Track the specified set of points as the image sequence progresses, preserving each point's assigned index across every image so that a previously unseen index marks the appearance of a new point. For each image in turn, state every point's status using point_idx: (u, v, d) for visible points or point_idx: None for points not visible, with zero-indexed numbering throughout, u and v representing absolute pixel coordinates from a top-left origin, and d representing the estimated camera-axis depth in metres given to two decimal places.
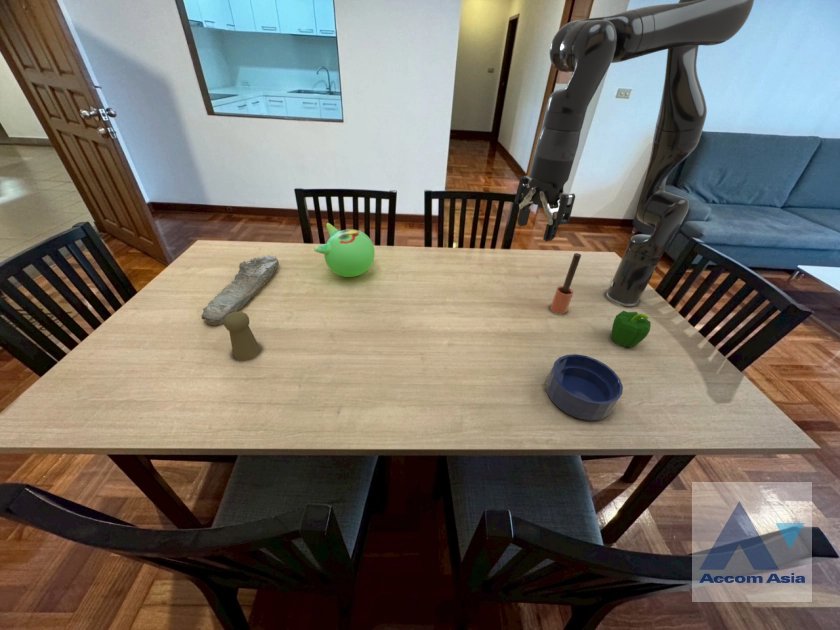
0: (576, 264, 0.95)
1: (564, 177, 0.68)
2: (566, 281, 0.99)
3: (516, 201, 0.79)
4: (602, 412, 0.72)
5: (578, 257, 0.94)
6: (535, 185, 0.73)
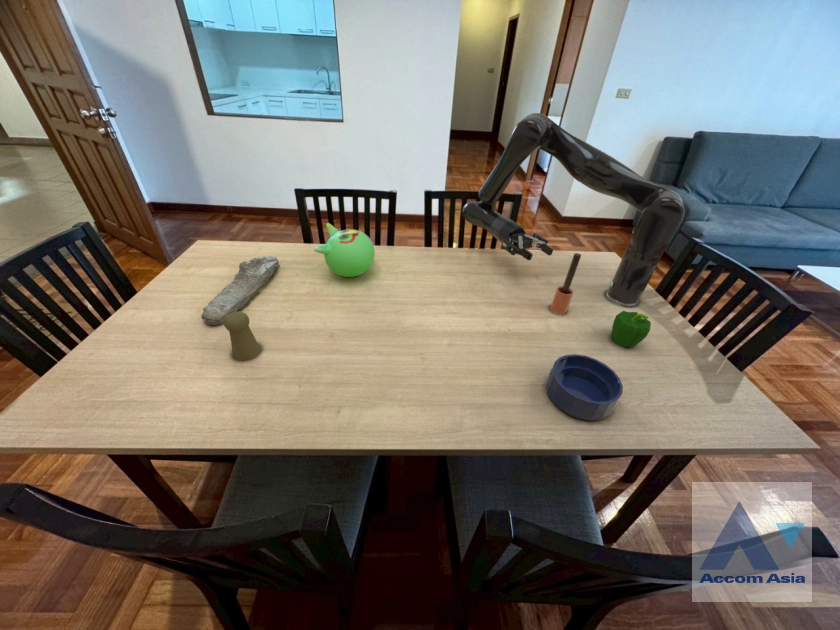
0: (576, 264, 0.95)
1: (505, 236, 1.12)
2: (566, 281, 0.99)
3: None
4: (602, 412, 0.72)
5: (578, 257, 0.94)
6: None
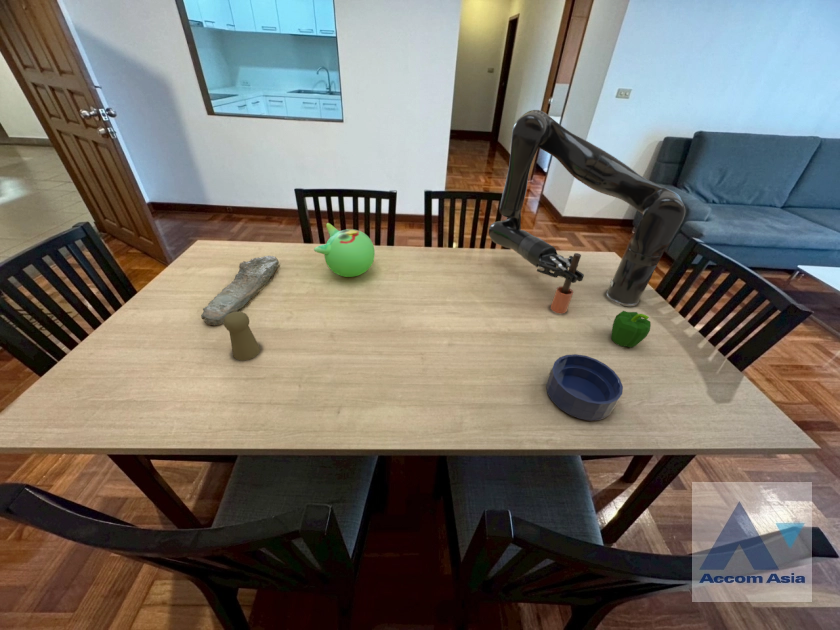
0: (576, 264, 0.95)
1: (534, 257, 1.04)
2: (566, 281, 0.99)
3: None
4: (602, 412, 0.72)
5: (578, 257, 0.94)
6: None
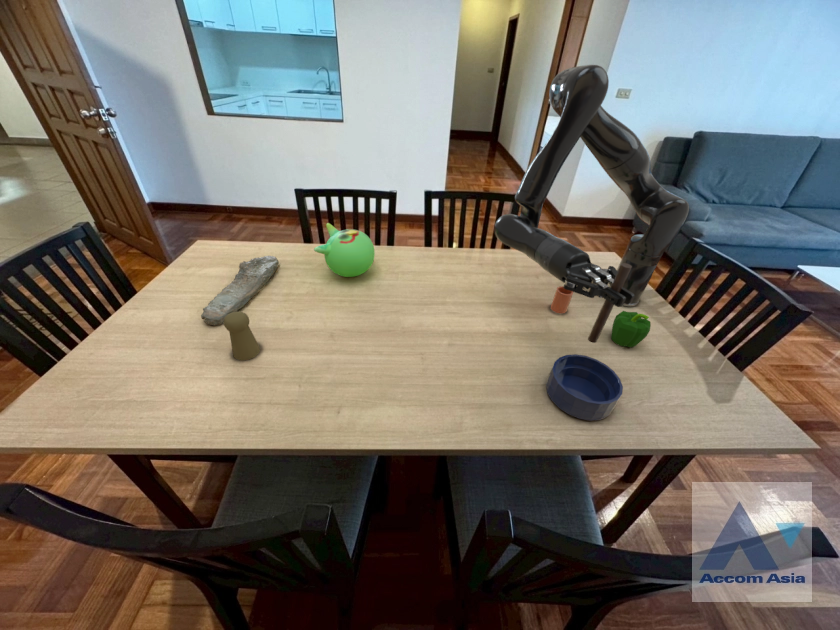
0: (624, 279, 0.65)
1: (559, 267, 0.74)
2: (606, 303, 0.69)
3: None
4: (602, 412, 0.72)
5: (627, 269, 0.64)
6: None
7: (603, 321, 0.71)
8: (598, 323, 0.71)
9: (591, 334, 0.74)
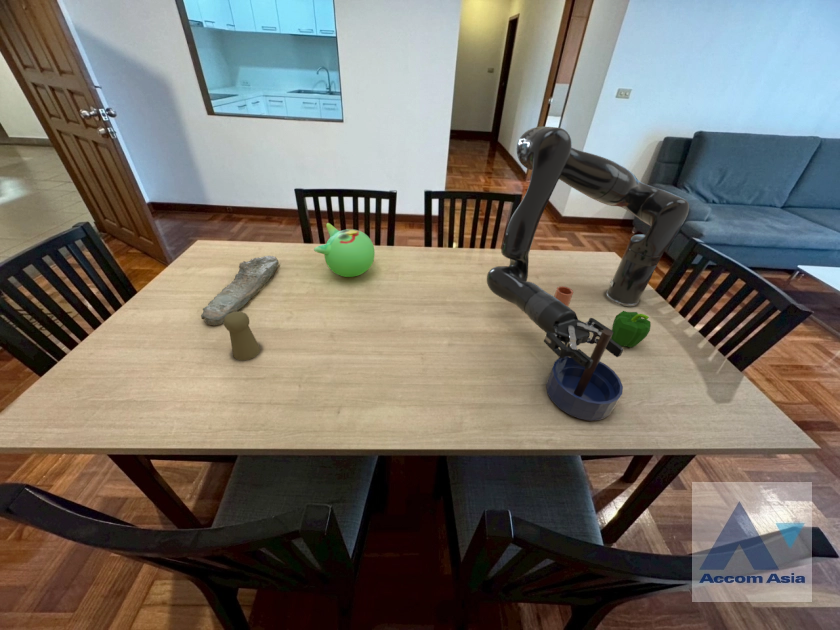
0: (606, 344, 0.69)
1: (547, 325, 0.78)
2: None
3: None
4: (602, 412, 0.72)
5: (609, 336, 0.68)
6: None
7: (587, 379, 0.75)
8: (583, 380, 0.76)
9: (577, 389, 0.78)
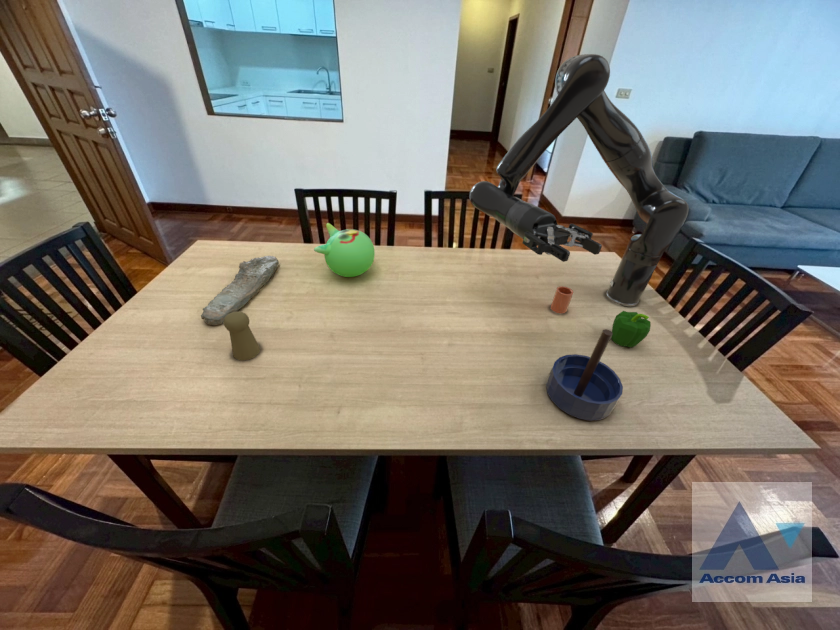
0: (606, 344, 0.69)
1: (527, 229, 0.77)
2: (590, 363, 0.73)
3: None
4: (602, 412, 0.72)
5: (609, 336, 0.68)
6: None
7: (587, 379, 0.75)
8: (583, 380, 0.76)
9: (577, 389, 0.78)
